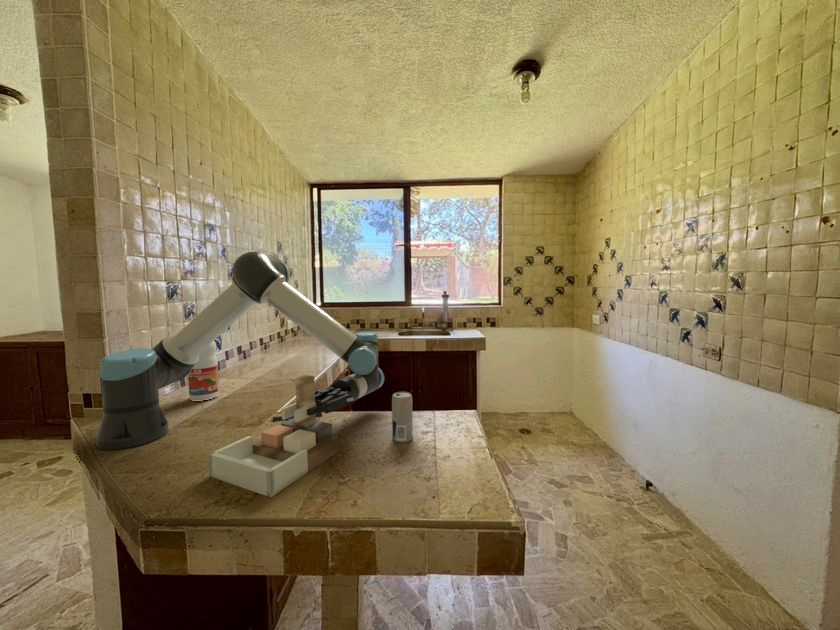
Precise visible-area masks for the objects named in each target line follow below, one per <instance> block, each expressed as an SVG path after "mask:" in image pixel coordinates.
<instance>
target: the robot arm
mask: <svg viewBox="0 0 840 630" xmlns="http://www.w3.org/2000/svg"><path fill="white" fill-rule="evenodd" d="M231 270H232V277H231V285H229V286H228V287H227V288H225V290H224V291H222V293H221V294H219V295H218V296H217V297H216V298H215V299H214V300H213V301H212V302H211V303H209V304H208V305H207V306H206V307H205V308H204V309H203V310H202V311H201V312H199V313H198V314H197V315H196V316H195V317H194V318H193V319H192V320H191V321H189V323H187V324H186V325H185V326H184V327H182V329H180V331H178V332H177V333H176V334H175V335H167V336H165V337H163V339H161V340H160V341H159V342H158V343H157V344H156V345H155V346H153V347H152V348H147V347H143V348H142V347H139V348H130V349H126V350H121V351H116V352H112V353H110V354H108V355H105V356H104V357H103V358H102V359H100V363H99V372H98V375H99V378H100V379H99V380H100V389H101V390H100V392H101V403H102V418H101V421H100V423H99V426H98V430H97V433H96V435H95V446H96V448H97V447H98V449H100V450H105V451H106V450H111V451H112V450H121V449H123V450H124V449H129V448H133V447H137V446H141V445H144V444H147V443H152V442H154V441H156V440H158V439H161V438H162V437H164V436H165V435H167V434H168V433H169V421H168V419H167V418H166V416H165V414H164V412H163V410H162V407H161V405H160V400H159V399H160V397H159V390H160V389H163V388H165V387H168V386H169V385H172V384H176V383H178V382H179V381H182V380H184V379H185V378H186V377H188V374H189V373H190V372H191V371H192V369H193V367H194V365H195V364H196V363H197V362H198V361H199V354H200V353H201V352H202V351H203V350H204V349H205V348H206V347H207V346H208V345H210V344H211V343H212V342H213V341H215V340H216V339H217V338H219V337H220V335H222V334H223V333H224V332H225V331H226V330H227V329H228V328H229V327H231V325H233V324H234V323H235V322H236V321H238V320H239V318H240V317H242V316H243V315H244V314H245V313H246V312H247V311H248V310H250V308H252V307H253V306H254V305H262V304H268V305H270V307H272V308H273V309H275V310H276V311H278V313H280V314H281V315H283V316H284V317H285V318H287V319H288V320H290V321H291V322H292V323H293V324H294V325H296V326H298V327H299V328H300V329H301V330H303V331H304V332H305V333H307V334H308V335H309V336H311V338H313V339H315V340H316V341H317V342H318V343H320V344H321V345H322V346H323V347H325V348H327V349H328V350H329V351H331V352H332V353H333V354H335V355H336V356H338V357H339V358H340V359H341V360H342V361H344V362H345V363H346V364H347V365H348V367H349V369H350V370H351V372H353V373H352V374H349V375H347V376H345V377H342V378H340V379H337V380H335V381H334V382H333V384H332V385H331V387H327V388H325V389H324V390H320V388H317V387H316V388H315V403H311V404H309V405H307V406H304V407H302V408H300V409H297V410H296V402H295V403H292V404H290V405H288V406H285V407H282V408H281V416H282V421H287V420H286V419H288V418H290V417H292V416H294V420H295V422H299V421H301V420H303V419H305V418H308V417H310V416H312V415H314V414H316V413H322V414H323V413H324V414H330V413H332V412H334V411H337V410H339V409H341V408H342V407H346V406H349V405H351V404H354V402H355V401H357V400H358V399H361V398H362V397H364V396H367V395H368V394H370V393H373V392H375V391H377V390H378V389H379V388H381V387H382V386H383V384H384V382H385V374H384V373H383V370H382V369H381V368H380V367H379V338H378V334H377V333H374V332H358V333H356V334H354V333H353V332H351V331H350V330H349V329H348V328H346V327H345V326H344V325H342V324H341V322H338V321H337V320H336V319H334V318H333V316H331V315H329V314H328V313H327V312H326V311H324V310H323V309H322V308H320V307H319V306H318V305H317V304H315V303H314V302H312V301H311V300H310V299H308V298H307V297H306V296H305V295H303V293H301V292H300V291H299V290H297V289H296V288H295V287H293V286H292V285H290V284H289V280H290V272H289V269H288V266H287V265H286V263H285V262H284V261H283V260H282V259H280V258H279V257H277V256H276V255H272V254H266V253H263V252H261V251H248V252H245V253H242V254H241V255H239V256H238V257H237V258H236V259H235V261H234V263H233V266H232V269H231Z"/></svg>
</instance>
